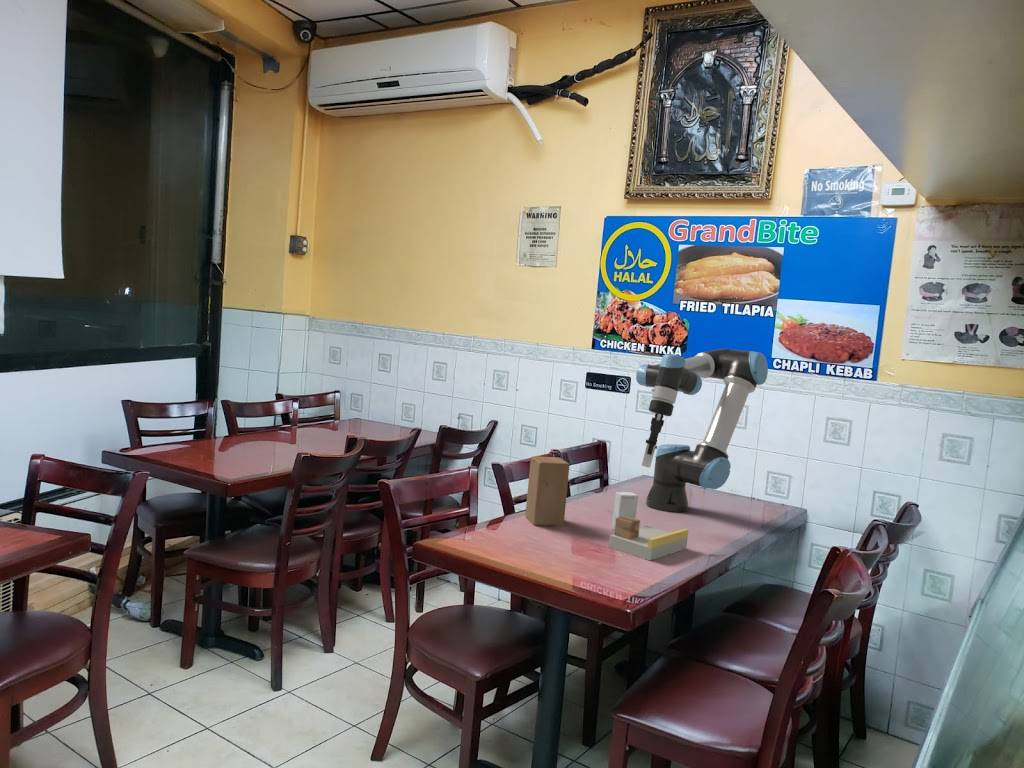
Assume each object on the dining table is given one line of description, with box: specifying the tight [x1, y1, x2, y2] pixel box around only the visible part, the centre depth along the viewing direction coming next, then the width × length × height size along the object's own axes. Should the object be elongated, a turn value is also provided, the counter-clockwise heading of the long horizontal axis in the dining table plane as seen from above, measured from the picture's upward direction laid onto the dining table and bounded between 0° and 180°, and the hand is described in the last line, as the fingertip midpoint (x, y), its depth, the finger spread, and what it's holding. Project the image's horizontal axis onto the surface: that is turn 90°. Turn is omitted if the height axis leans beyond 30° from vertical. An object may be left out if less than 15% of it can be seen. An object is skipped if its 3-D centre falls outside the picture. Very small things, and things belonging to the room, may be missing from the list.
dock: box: [608, 525, 689, 561], centre depth 222 cm, size 20×14×6 cm
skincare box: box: [611, 491, 639, 531], centre depth 238 cm, size 6×4×12 cm
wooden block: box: [524, 455, 570, 527], centre depth 240 cm, size 10×10×20 cm
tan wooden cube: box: [614, 516, 641, 539], centre depth 220 cm, size 5×5×5 cm
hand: (646, 466), depth 241 cm, fingers open, 13 cm apart
